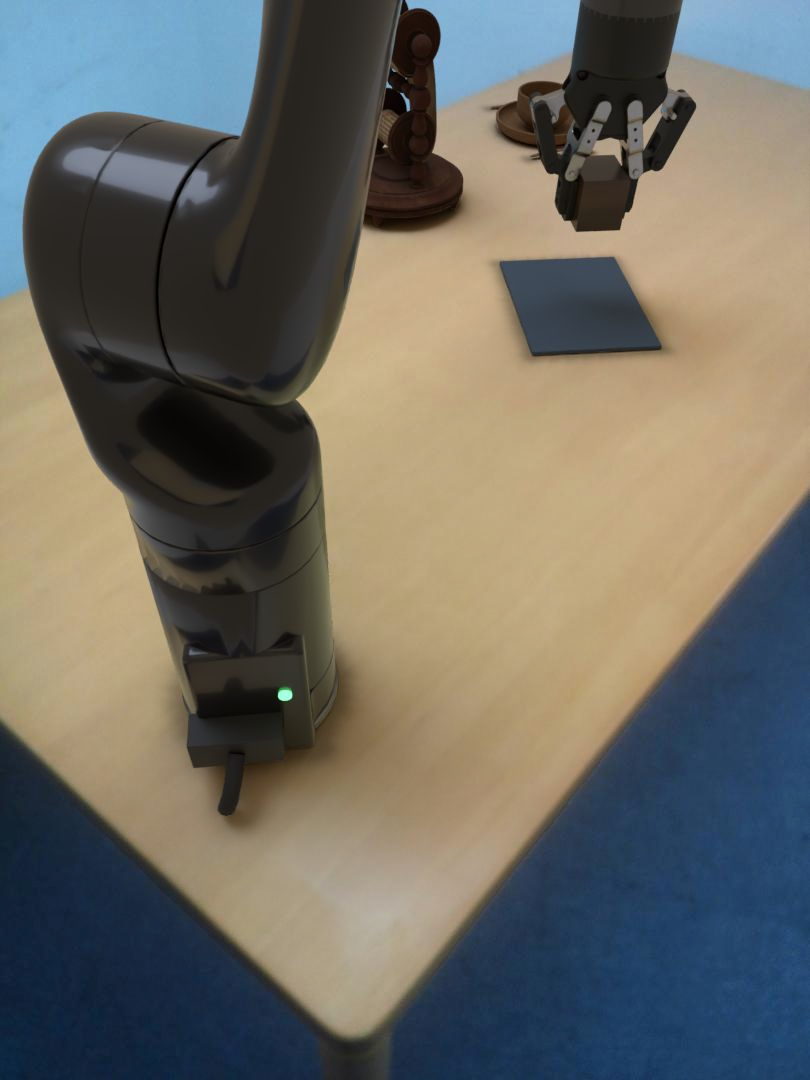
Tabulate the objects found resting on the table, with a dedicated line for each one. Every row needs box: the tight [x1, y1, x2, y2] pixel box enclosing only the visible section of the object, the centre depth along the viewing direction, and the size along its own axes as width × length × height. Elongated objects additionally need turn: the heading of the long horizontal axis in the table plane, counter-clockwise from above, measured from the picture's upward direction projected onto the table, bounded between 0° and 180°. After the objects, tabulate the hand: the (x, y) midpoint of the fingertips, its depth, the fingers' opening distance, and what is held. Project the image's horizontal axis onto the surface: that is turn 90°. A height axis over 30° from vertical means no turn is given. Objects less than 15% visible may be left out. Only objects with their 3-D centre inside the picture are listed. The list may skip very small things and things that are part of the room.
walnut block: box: [570, 154, 631, 233], centre depth 76 cm, size 5×4×4 cm
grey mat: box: [499, 256, 663, 356], centre depth 84 cm, size 16×12×1 cm
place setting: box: [489, 80, 574, 158], centre depth 111 cm, size 18×20×6 cm
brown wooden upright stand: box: [365, 0, 464, 228], centre depth 91 cm, size 15×15×20 cm
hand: (591, 215), depth 78 cm, fingers closed on walnut block, 4 cm apart
